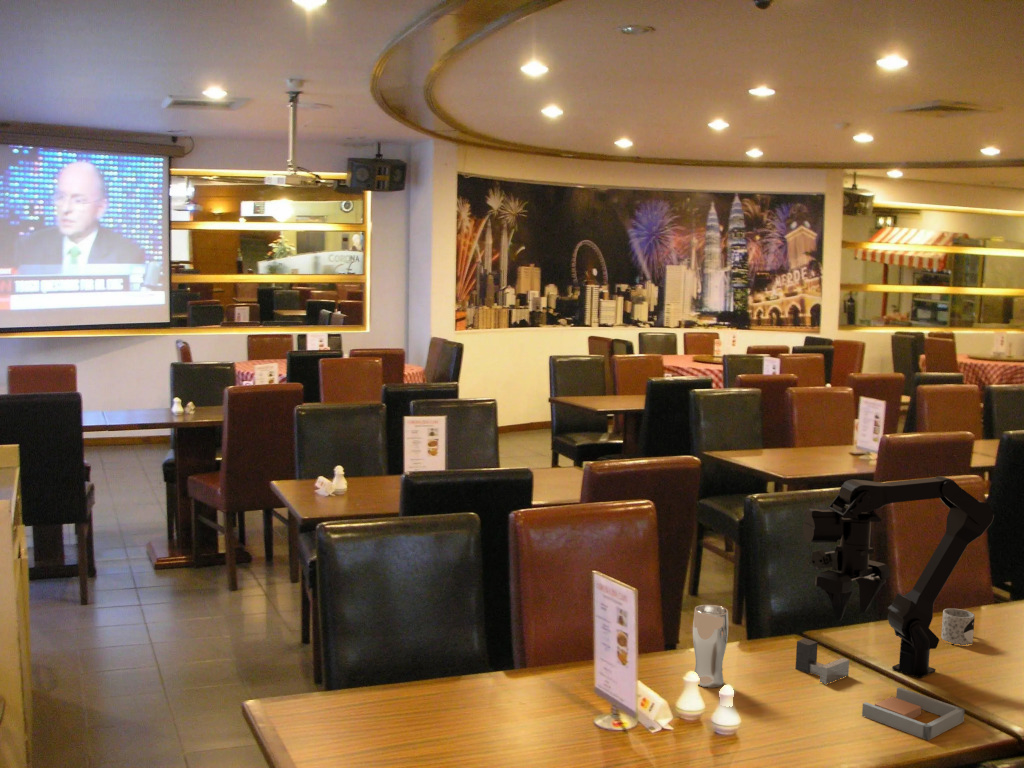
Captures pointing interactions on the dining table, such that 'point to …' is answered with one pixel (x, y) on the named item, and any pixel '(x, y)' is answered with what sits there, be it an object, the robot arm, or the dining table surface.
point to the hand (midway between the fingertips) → (850, 615)
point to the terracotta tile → (900, 707)
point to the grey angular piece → (809, 664)
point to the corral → (926, 731)
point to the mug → (958, 626)
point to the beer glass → (710, 643)
